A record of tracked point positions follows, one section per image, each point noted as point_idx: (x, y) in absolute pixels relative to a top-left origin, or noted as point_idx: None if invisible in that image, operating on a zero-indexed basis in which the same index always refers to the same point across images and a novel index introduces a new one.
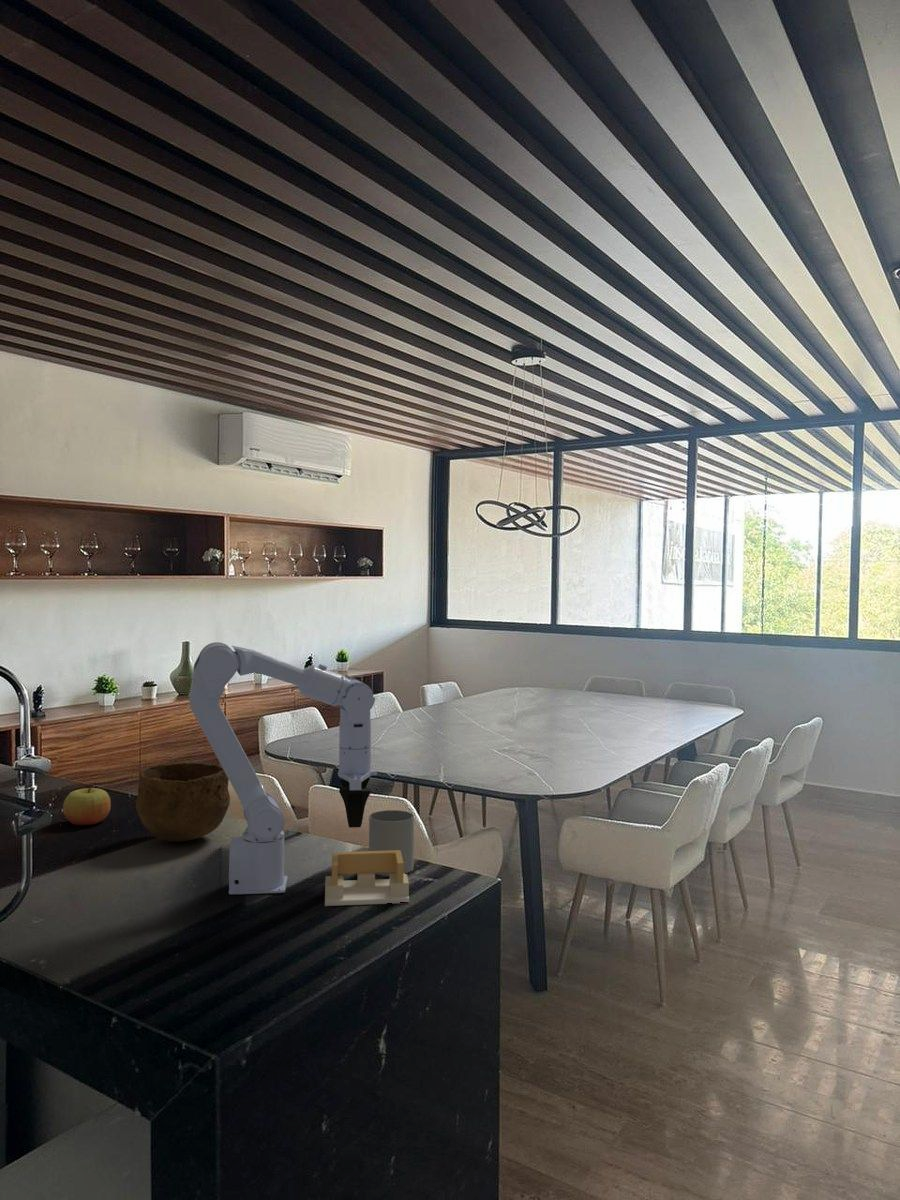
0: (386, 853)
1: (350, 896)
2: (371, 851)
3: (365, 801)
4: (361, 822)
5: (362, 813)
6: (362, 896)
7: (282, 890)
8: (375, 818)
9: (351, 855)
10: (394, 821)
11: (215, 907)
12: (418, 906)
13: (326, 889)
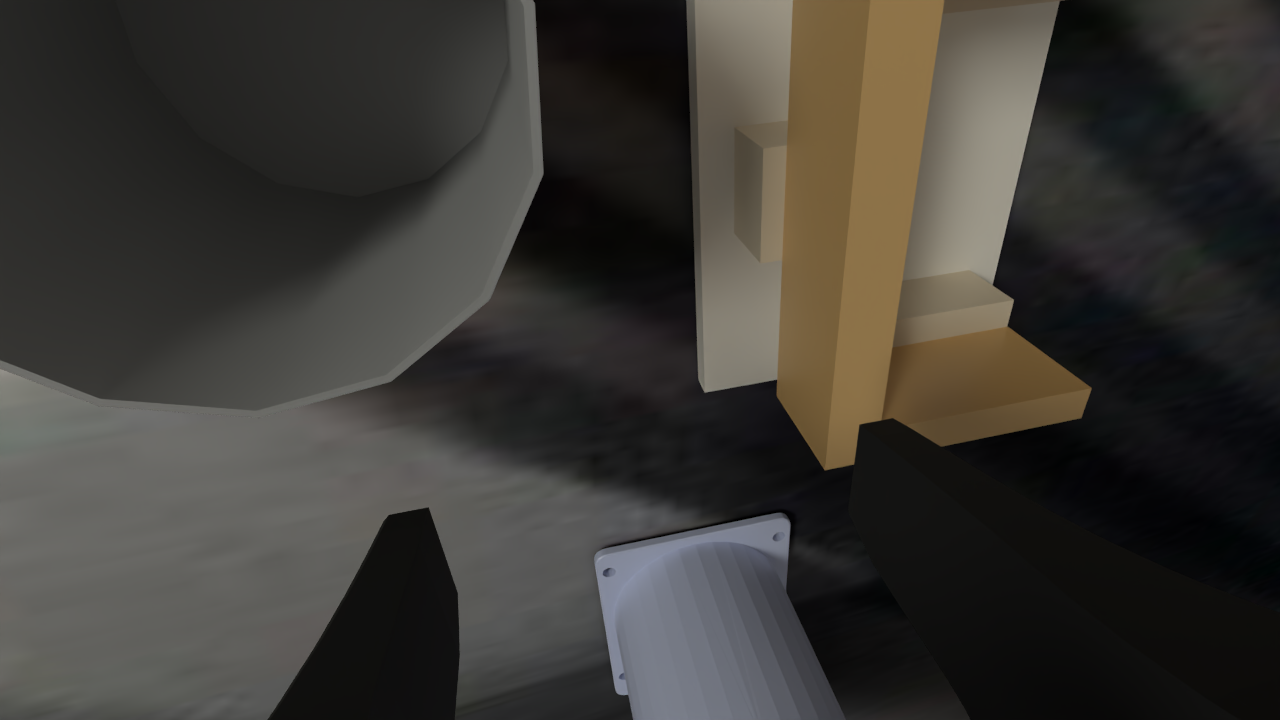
0: (931, 71)
1: (953, 238)
2: (862, 215)
3: (1260, 613)
4: (928, 441)
5: (1029, 505)
6: (973, 174)
7: (789, 523)
8: (73, 325)
9: (888, 346)
10: (533, 25)
11: (873, 640)
12: None
13: None
